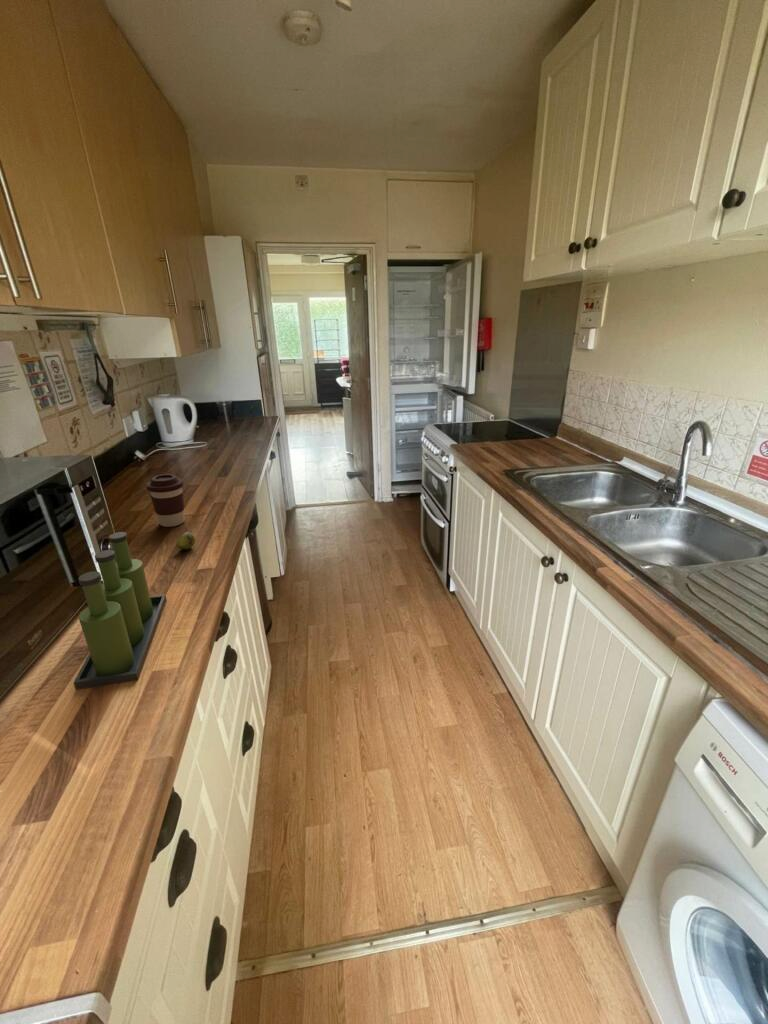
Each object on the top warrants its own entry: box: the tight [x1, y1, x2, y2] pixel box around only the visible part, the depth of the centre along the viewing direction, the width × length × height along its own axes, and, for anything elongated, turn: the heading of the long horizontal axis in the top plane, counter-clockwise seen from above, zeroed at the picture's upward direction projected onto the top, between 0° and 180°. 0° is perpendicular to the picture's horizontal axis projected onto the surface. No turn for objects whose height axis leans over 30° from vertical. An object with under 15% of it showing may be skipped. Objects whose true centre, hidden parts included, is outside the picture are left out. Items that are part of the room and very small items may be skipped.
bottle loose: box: [78, 570, 135, 677], centre depth 73 cm, size 6×6×19 cm
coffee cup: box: [146, 473, 186, 528], centre depth 131 cm, size 10×10×15 cm
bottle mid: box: [94, 549, 145, 646], centre depth 80 cm, size 6×6×19 cm
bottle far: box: [108, 531, 154, 622], centre depth 87 cm, size 6×6×19 cm
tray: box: [73, 594, 168, 691], centre depth 84 cm, size 24×10×2 cm, turn 14°
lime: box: [176, 531, 196, 551], centre depth 118 cm, size 4×5×5 cm
